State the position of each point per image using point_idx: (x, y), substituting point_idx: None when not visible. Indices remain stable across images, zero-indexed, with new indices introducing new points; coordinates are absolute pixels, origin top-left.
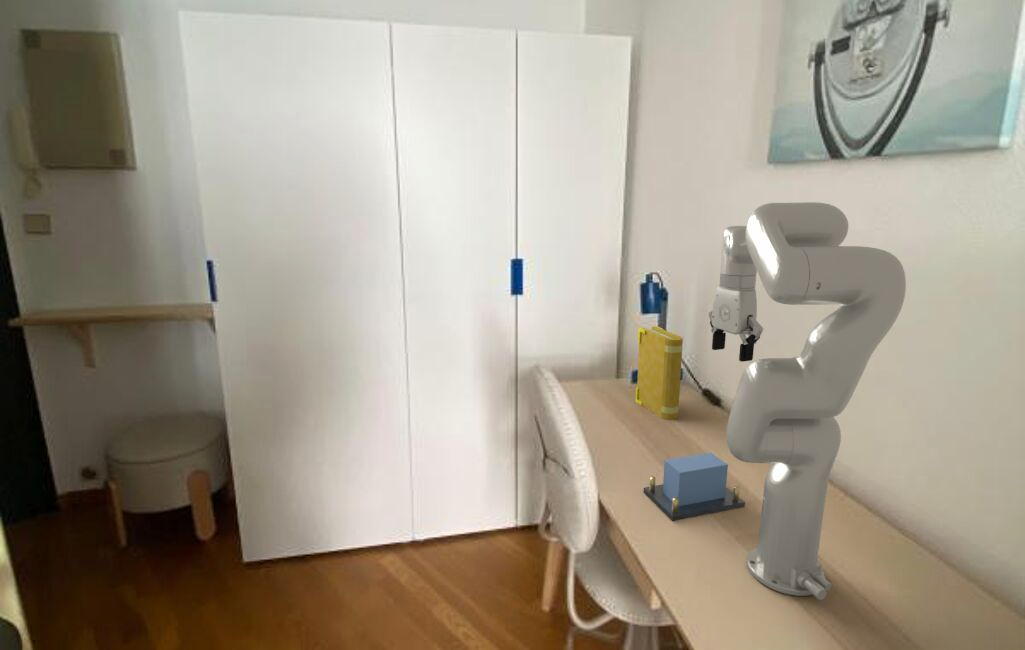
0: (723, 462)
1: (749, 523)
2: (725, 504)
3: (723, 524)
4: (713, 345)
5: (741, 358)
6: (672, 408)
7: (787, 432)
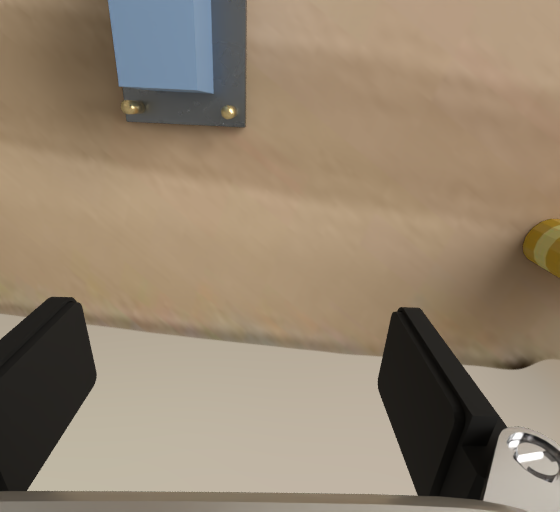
0: (132, 82)
1: (72, 84)
2: None
3: (75, 22)
4: (413, 326)
5: (40, 311)
6: (547, 247)
7: None
